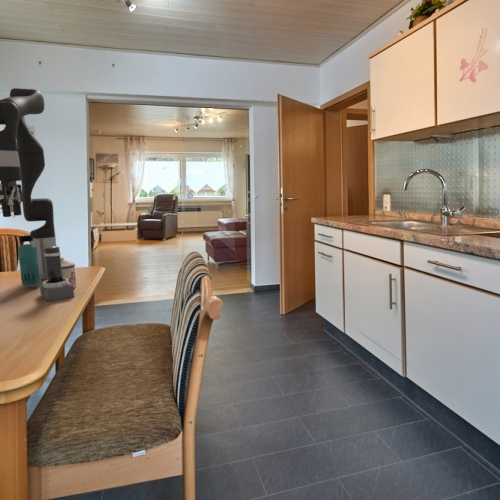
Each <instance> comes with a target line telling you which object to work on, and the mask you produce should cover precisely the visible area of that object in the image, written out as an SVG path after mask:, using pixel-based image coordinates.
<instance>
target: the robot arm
mask: <svg viewBox="0 0 500 500" xmlns="http://www.w3.org/2000/svg"><path fill="white" fill-rule="evenodd" d="M44 99H45V98H44V96H43V94H42V92H41V91H39V90H37V89H33V88H18V87H17V88H16V87H14V88H11V89H10V92H9V96H8V97H5V98H2V99H0V125H3V126H4V128H3V129H1V130H0V206H1V209H2V210H1V211H2V216H3V218H10V217H12V210H13V215H14V216H21V215H22V214H23V217H24V220H25V221H27V222H45V223H44V224H43V225H41V226H40V227H38V228H36V229H33V230H31V231H30V233H29V235H31V236H32V238H33V241H30V244H34V245H35V246H37V255H38V264H39V272H40V280H41V281H42V280H44V281H46V280H48V277H47V269H46V261H45V255H44V253H45V252H44V248H46V247H51V246H57V241H56V240H57V239H56V238H57V237H56V230H55V218H54V217H55V216H54V214H55V213H54V204H53V201H52V200H51V199H50V198H42V197H41V198H32V194H33V193H32V192H33V190H34V188H35V185H36V183H37V181H38V180H39V178H40V176H41V175H42V173H43V171H44V169H45V166H46V163H45V159H46V158H45V152H44V148H43V146H42V145H41V143H40V141H39V140H38V139H37V138H36V137H35V135H34V134H33V132H32V131H31V130H30V128H29V127H28V126H29V125H28V124H27V122H26V119H25V116H28V115H39V114H42V113H43V112H44V110H45V100H44ZM20 181H21V183H20V184H17V182H20ZM11 203H12V207H11V205H10V204H11ZM21 204H22V205H21ZM22 210H23V211H22ZM22 212H23V213H22Z"/></svg>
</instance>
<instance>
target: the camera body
mask: <svg viewBox="0 0 500 500" xmlns="http://www.w3.org/2000/svg"><path fill="white" fill-rule="evenodd" d="M74 289H75V288H74ZM74 289H73V285H71V283H69V279H67V278H63V282H58V283H48V279H45V280H44V281H42V283H40V284H39V292H40V297H42V298H43V299H44V300H46V301H48V302H54V301H59V300H64V299H69V298H74V297H75V290H74Z"/></svg>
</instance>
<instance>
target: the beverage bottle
mask: <svg viewBox="0 0 500 500" xmlns="http://www.w3.org/2000/svg"><path fill="white" fill-rule="evenodd" d="M19 239H20V240H19V241H20V242H21V243H25V244H20V245H19V246H18V248H17V251H18V260H19V261H18V262H19V269H20V270H19V271H20V279H21V280H20V281H21V284H22V286H24V287H27V286H28V287H30V286H36V285H41V281H42V280H40V272H39V264H38V255H37V246H35V245H34V244H31V243H27V242H31V241H33V238H32V236H31V235H30V234H26V235H25V234H24V235H21V236H19Z"/></svg>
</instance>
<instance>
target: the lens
mask: <svg viewBox="0 0 500 500" xmlns="http://www.w3.org/2000/svg"><path fill="white" fill-rule="evenodd" d="M44 252H45V253H44V255H45V261H46V269H47V277H48V279H47V280H48V283H58V282H63V276H62V267H61V258H62V257H61V251H60V246H58V245H56V246H51V247H46V248H44Z"/></svg>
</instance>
